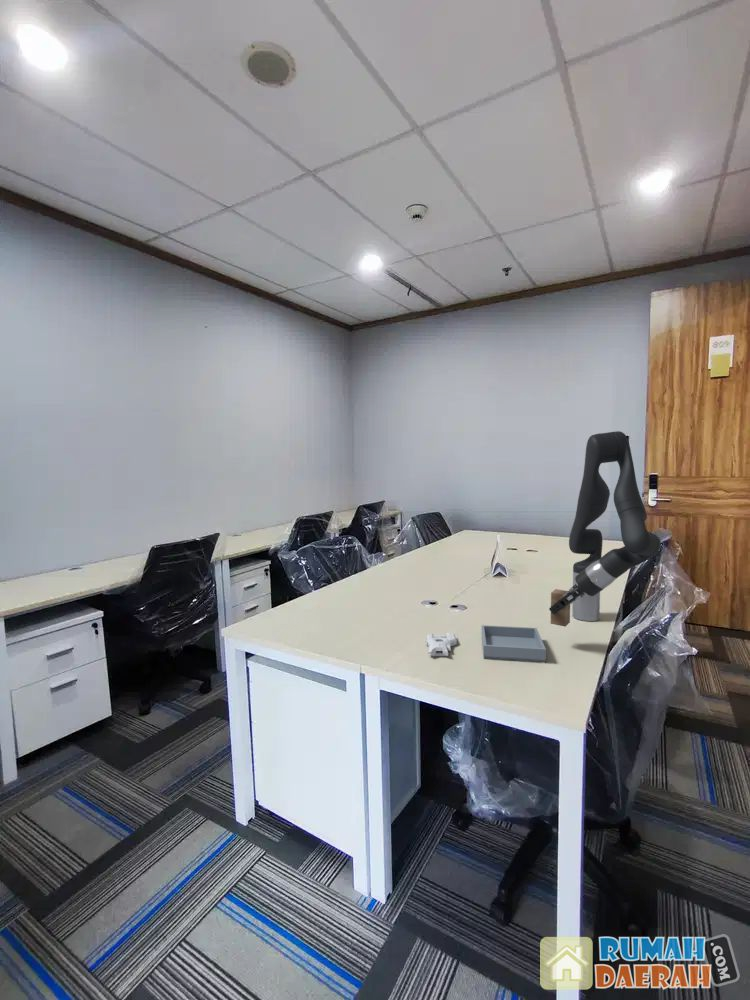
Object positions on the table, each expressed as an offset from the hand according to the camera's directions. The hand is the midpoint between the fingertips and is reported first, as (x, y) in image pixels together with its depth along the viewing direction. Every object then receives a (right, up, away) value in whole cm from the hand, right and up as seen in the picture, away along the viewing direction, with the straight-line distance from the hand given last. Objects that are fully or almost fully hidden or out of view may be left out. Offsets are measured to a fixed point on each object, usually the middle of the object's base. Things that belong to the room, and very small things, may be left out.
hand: (554, 608), depth 145 cm
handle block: (+2, -4, -1) cm, 5 cm away
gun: (-35, -13, +1) cm, 38 cm away
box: (-14, -12, -1) cm, 19 cm away
